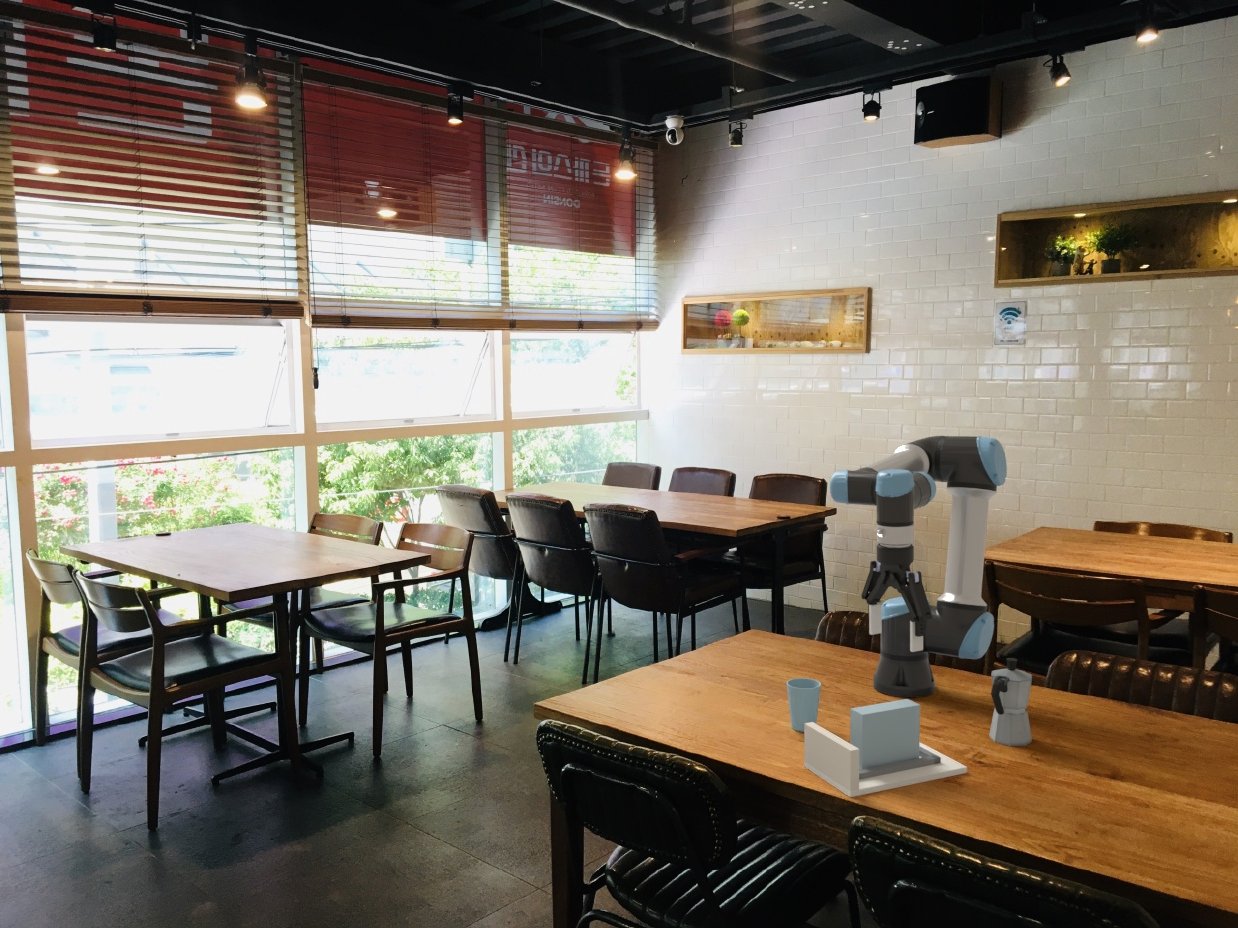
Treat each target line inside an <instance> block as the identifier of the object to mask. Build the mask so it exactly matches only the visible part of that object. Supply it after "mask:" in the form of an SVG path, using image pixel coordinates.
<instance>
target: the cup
mask: <svg viewBox="0 0 1238 928" xmlns="http://www.w3.org/2000/svg"><path fill="white" fill-rule="evenodd" d="M821 687H822V683H821V682H820V681H818V680H817V679H813V678H807V677H806V678H805V677H797V678H792V679H791V678H790V679H789V680H786V690H787V699H788V700H787V701H788V708H789V717H790V725H791V729H793V730H794V731H796V732H801V733H802V732H803V733H804V723H810V722H814V723H815V724H817V723H818V715H819V706H820V705H819V704H820V697H821V689H822V688H821ZM817 725H818V724H817Z"/></svg>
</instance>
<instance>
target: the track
mask: <svg viewBox="0 0 1238 928" xmlns="http://www.w3.org/2000/svg"><path fill="white" fill-rule="evenodd" d="M803 733H804V734H803V735H804V736H803V737H804V741H803V742H804V746H803V747H804V748H803V749H804V751H803V752H804V753H803V754H804V756H803V757H804V760H803V761H804V763H803V765H804V766H803V767H804V768H805V767H806V768H805V769H807V770H808V769H809V770H808V771H810V772H811V773H813V774H815V775H816V776H817V777H818V778H820V779H822V780H824V781H825V782H827V783H828V784H830V785H831V786H833V787H834V788H835V789H837V790H838V791H840V792H842V793H843V794H845V795H846V796H848V798H855V797H858V796H864V795H867V794H874V793H878V792H882V791H886V790H891V789H896V788H901V787H905V786H911V785H917V784H920V783H925V782H929V781H934V780H939V779H945V778H948V777H952V776H958V775H962V774H967V773H968V766H966V765H964V764H962V763H960V762H958V761H956V760H954V759H953V758H951V757H949V756H947V755H945V754H943V753H942V752H939V751H937V750H936V749H933V748H932V747H930V746H928V745H926V744H924V743H922V742H919V758H917V759H912V760H907V761H902V762H897V763H892V764H887V765H882V766H877V767H872V768H867V769H862V770H859V749H858V748H857V747H855V746H853V745H851V744H850V742H848V741H847V740H844V739H842V738H841V737H839V736H837V735H836V734H834V733H832V732H831V731H829V730H827V729H826V728H824V727H822V726H821V725H818V724H815V723H814V722H810V723H804V732H803Z"/></svg>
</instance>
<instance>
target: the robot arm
mask: <svg viewBox="0 0 1238 928" xmlns="http://www.w3.org/2000/svg"><path fill="white" fill-rule="evenodd" d="M1007 470H1008V465H1007V458H1006V453H1005V450H1004V446H1003V444H1002V443H1001V442H1000V441H999V440H998V439H997V438H994V437H987V436H980V435H979V436H969V435H968V436H966V435H964V436H961V435H959V436H958V435H957V436H956V435H950V436H949V435H946V436H945V435H934V436H928V437H924V438H920V439H917V440H913V441H911V442H908V443H906V444H903V445H901V446H899V447H898V448H897V449H895V450H894V453H893V454H890V455H888V456H886V457H883V458H881V459H880V460H877V461H874V462H872V463H870V464H868V465H865V466H863V467H861V468H858V469H856V470H850V469H844V470H841V469H840V470H836V471H835V472H834V473H833V474H832V475H831V478H830V481H829V482H830V483H829V493H830V494H829V495H830V496H831V497H830V498H831V499H832V500H833V502H835V503H840V504H845V505H860V506H876V541H877V545H876V560H872V561H870V563H869V571H868V572H869V573H868V575H867V578H866V581H865V582H864V583H865V584H864V586H863V590H862V592H861V599H862V600H865V601H866V604H868V605H867V606H868V607H867V608H868V609H867V611H868V613H867V615H868V620H869V621H868V622H869V623H868V628H869V629H868V634H869V635H871V636H873V635H878V634H880V657H879V660H878V664H877V666H876V670H875V673H874V675H873V678H872V679H873V680H872V683H873V684H872V685H873V686H872V687H873V688H874V689H875V690H876V691H878V692H879V693H882V694H884V695H889V696H893V697H901V698H919V697H920V698H921V697H926V696H929V695H933V694H934V693H935V691H936V681H935V678H934V674H933V671H932V668H931V665H930V662H929V653H932V654H937V655H943V656H949V657H956V658H959V659H969V660H978V659H981V658H982V657H984V655H985V654H986V653H987V651H988V649H989V647H990V646H991V645H990V644H991V642H992V638H993V635H994V631H995V630H994V628H995V622H994V621H995V618H994V615H993V614H992V613H990V611H987V609H988V604H987V602H985V600H984V599H983V598H982V589H983V575H984V564H985V552H986V539H987V530H988V529H987V528H988V527H987V526H988V518H989V507H990V506H989V503H990V500H991V498H992V497H993V496H995V495H996V494H997V490H998V489H997V488H998V487H1000V486H1003V485H1004V484H1005V483H1006V477H1007V475H1008V474H1007V472H1008V471H1007ZM936 482H940V483H946V490H947V491H948V493H949V494H950V495H951V511H950V521H949V530H948V531H949V534H948V542H947V543H948V545H947V555H946V566H945V568H946V569H945V578H944V591H943V593H942V594H941V595H940V596H939V597H938V598H937V600H936V605H934V604H932V605H931V604H930V603H931V602H930V599H929V598H928V597H927V595H926V591H925V589H924V588H925V587H924V585H923V578H922V577H923V576H922V572H921V571H911V565H912V563H913V562H914V560H915V546H914V545H913V543H914V542H915V526H914V525H915V522H914V519H915V516H914V513H915V512H914V510H916V509H920V508H922V507H925V506H927V505H928V504H929V503H930V502H932V501H933V500H934V498H935V496H936V494H937V485H936ZM889 587H891V588H893V589H894V590H896V591H897V592H898V593H900V595H901V596H898V597H893V598H889V599H886V600H885V601H884V602H883V603H881V602H882V601H881V599H882V597H883V596H884V594H885V593H886V592H887V590H888V588H889Z"/></svg>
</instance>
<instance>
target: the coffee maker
mask: <svg viewBox="0 0 1238 928" xmlns="http://www.w3.org/2000/svg"><path fill="white" fill-rule="evenodd" d="M1005 659H1006V665H1007V668H1001V669H995V670H991V674H990V675H991V682H992V686H991V692H990V695H991V698H992V703H993V706H994V708H993V709H994V710H993V713H992V718H991V719H992V720H991V724H990V729H989V730H990V731H989V735H988V737H989V738H990V739H991V740H992V742H994V743H996V744H1000V745H1004V746H1008V747H1026V746H1027V745H1029V744H1030V743H1032V742H1033V741H1032V740H1033V739H1032V733H1031V732H1032V731H1031V726H1030V719H1029V713H1028V711H1027V710H1026V708H1028V706H1029V699H1030V694H1031V693H1030V692H1031V685H1032V681H1033V679H1032V678H1033V675H1032V674H1031V673H1028V672H1026V671H1025V670H1020V669H1017V663H1018V659H1017V658H1015V657H1007V658H1005Z"/></svg>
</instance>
